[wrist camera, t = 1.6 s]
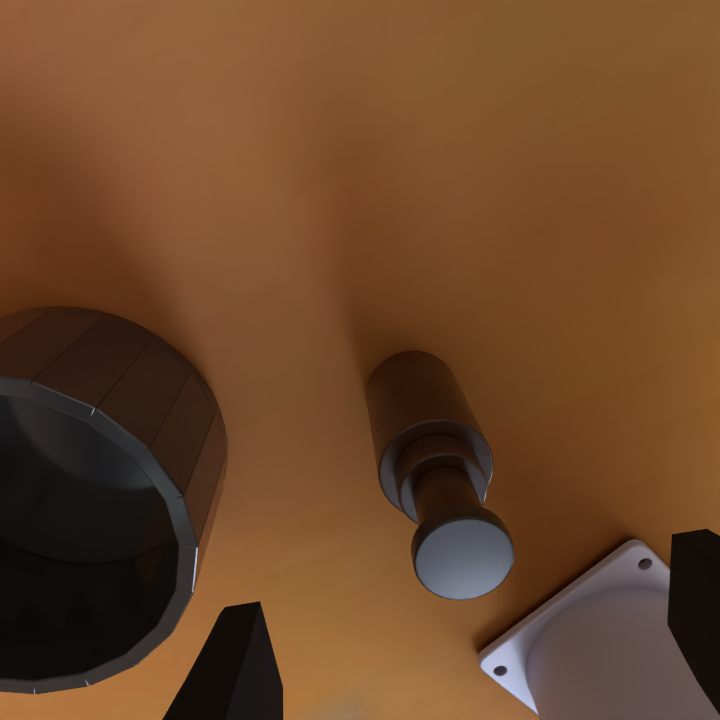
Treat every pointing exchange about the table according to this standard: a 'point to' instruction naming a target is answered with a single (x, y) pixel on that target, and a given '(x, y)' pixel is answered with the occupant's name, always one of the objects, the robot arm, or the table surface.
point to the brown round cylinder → (98, 494)
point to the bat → (438, 475)
